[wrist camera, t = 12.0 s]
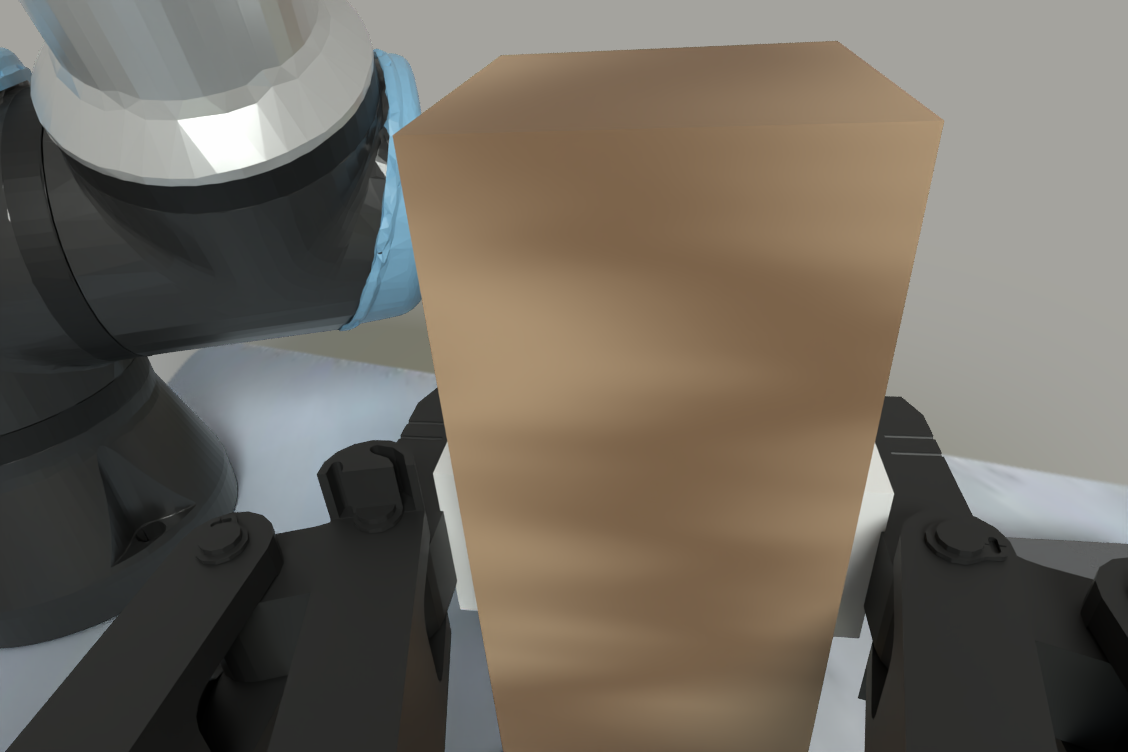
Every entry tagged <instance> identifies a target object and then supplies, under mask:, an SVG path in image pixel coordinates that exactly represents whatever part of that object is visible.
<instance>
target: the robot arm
mask: <svg viewBox="0 0 1128 752" xmlns="http://www.w3.org/2000/svg"><path fill="white" fill-rule="evenodd" d="M19 1H20V3H21V4H22V6H23V8H24V9H25V11H26V12H27V14H28V15H29V17H30V18H31V20H32V21H33V23H34V24H35V26H36V28H37V29H38V31H39V32H40V34H41V35H42V37H43V38H44V40H45V42H44V44H43V45H42V47H41V49H40V52H39V54H38V56H37V58H36V61H35V63H34V67H33V71H32V73H31V71H30V69H29V68H27V67H25V66H24V65H23V64H22V62H21V61H20V60H19V59H18V57H17V56H16V55H15V54H14V53H12V52H11V51H9V50H8V49H5V48H0V648H12V647H20V646H26V645H31V644H37V643H41V642H45V641H50V640H53V639H57V638H60V637H64V636H67V635H70V634H73V633H76V632H79V631H81V630H84V629H87V628H89V627H92V626H94V625H97V624H99V623H101V622H104V621H106V620H108V619H110V618H112V617H115V616H117V615H118V617H117V618H116V619H115V620H114V621H113V623H112V624H111V625H110V626H109V627H108V629H107V630H106V631H105V632H104V633H103V635H102V636H101V637H100V638H99V639H98V641H97V642H96V643H95V644H94V645H93V647H92V648H91V649H90V650H89V651H88V653H87V654H86V655H85V656H84V657H83V659H82V660H81V661H80V662H79V664H78V665H77V666H76V667H75V668H74V670H73V671H72V672H71V673H70V674H69V676H68V677H67V678H66V679H65V680H64V682H63V683H62V684H61V685H60V686H59V688H58V689H57V690H56V691H55V692H54V694H53V695H52V696H51V697H50V698H49V700H48V701H47V702H46V703H45V704H44V706H43V707H42V708H41V709H40V710H39V712H38V713H37V714H36V715H35V716H34V718H33V719H32V720H31V721H30V722H29V724H28V725H27V726H26V727H25V728H24V730H23V731H22V732H21V733H20V734H19V736H18V737H17V738H16V739H15V740H14V742H13V743H12V744H11V745H10V746H9V748H8V749H7V750H6V751H5V752H444V751H445V733H446V716H447V699H448V681H449V664H450V647H451V628H450V623H449V618H448V613H447V610H448V607H449V604H450V601H451V598H452V596H453V593H454V590H455V587H456V591H457V596H458V601H459V606H460V609H461V610H475V611H478V609H477V603H476V598H475V592H474V586H473V581H472V575H471V570H470V564H469V559H468V553H467V547H466V542H465V536H464V531H463V525H462V520H461V514H460V509H459V503H458V497H457V492H456V486H455V481H454V475H453V470H452V464H451V458H450V453H449V447H448V442H447V436H446V431H445V425H444V420H443V414H442V408H441V403H440V397H439V392H438V387H437V388H436V389H435V390H434V391H432V392H431V393H430V394H429V395H427V396H426V397H425V398H424V399H422V400H421V401H420V402H419V403H418V404H417V406H416V408H415V410H414V412H413V414H412V415H411V417H410V419H409V424H407V425H406V426H405V428H404V430H403V432H402V434H401V439H398V441H397V443H396V442H393V441H382V440H372V441H367V442H363V443H358V444H354V445H352V446H349V447H347V448H345V449H343V450H341V451H338V452H337V453H335V454H334V455H333V456H332V457H330V458H329V459H328V460H327V461H325V462H324V464H323V465H322V467H321V468H320V470H319V472H318V473H317V477H318V480H319V483H320V486H321V490H322V493H323V496H324V499H325V502H326V506H327V509H328V512H329V515H330V518H331V521H330V523H327V524H323V525H320V526H316V527H311V528H306V529H301V530H295V531H290V532H285V533H279V534H275V531H274V529H273V526H272V523H271V522H270V521H269V520H267V519H266V518H265V517H264V516H263V515H260V514H256V513H252V512H237V513H232V512H233V510H234V507H235V504H236V499H237V490H238V489H237V481H236V477H235V474H234V472H233V469H232V467H231V464H230V462H229V459H228V457H227V454H226V452H225V449H224V447H223V445H222V444H221V442H220V441H219V439H218V438H217V437H216V435H215V434H214V433H213V432H212V431H211V430H210V429H209V428H208V427H207V426H206V425H205V424H204V423H203V422H202V421H201V420H200V419H199V418H198V417H197V416H196V415H195V413H194V412H193V411H192V410H191V409H190V408H189V407H188V406H187V405H186V404H185V403H184V402H183V401H182V400H181V399H180V398H179V397H178V396H177V395H176V394H175V393H174V392H173V391H172V390H171V389H170V388H169V387H168V386H167V385H166V383H165V382H164V381H163V380H162V379H161V378H160V377H159V376H158V375H157V374H156V373H155V372H154V370H153V368H152V366H151V364H150V362H149V359H148V357H147V356H152V355H156V354H163V353H169V352H176V351H183V350H191V349H199V348H206V347H213V346H221V345H228V344H235V343H243V342H250V341H257V340H265V339H272V338H280V337H287V336H294V335H301V334H309V333H316V332H324V331H331V330H340V331H346V330H351V329H353V328H355V327H356V326H358V325H359V324H361V323H366V322H371V321H376V320H381V319H386V318H390V317H396V316H400V315H403V314H405V313H407V312H409V311H410V310H412V309H413V308H414V307H415V306H416V305H417V304H418V303H419V302H420V301H421V299H422V297H421V292H420V286H419V280H418V275H417V269H416V264H415V258H414V253H413V247H412V242H411V236H410V230H409V225H408V219H407V214H406V208H405V203H404V197H403V191H402V186H401V180H400V175H399V169H398V164H397V158H396V153H395V147H394V141H393V136H392V135H394V134H395V133H396V132H398V131H399V130H400V129H402V128H403V127H405V126H406V125H407V124H409V123H410V122H411V121H413V120H414V119H415V118H417V117H418V116H419V115H421V109H420V102H419V97H418V92H417V87H416V83H415V78H414V74H413V72H412V69H411V66H410V64H409V63H408V61H407V60H406V59H405V58H403V57H402V56H400V55H397V54H392V53H389V54H387V53H386V52H384V51H382V50H379V49H374V50H373V48H372V43H371V39H370V36H369V33H368V31H367V29H366V27H365V24H364V22H363V20H362V19H361V17H360V16H359V14H358V12H357V11H356V9H355V8H354V7H353V6H352V5H351V4H350V3H349V2H348V1H347V0H19ZM865 613H866V617H867V621H868V625H869V628H870V632H871V636H872V640H873V642H872V646H871V650H870V654H869V657H868V661H867V665H866V669H865V673H864V677H863V681H862V684H861V688H860V692H859V696H858V698H859V699H863V700H866V717H865V752H1128V557H1127V558H1117V559H1112V560H1110V561H1109V562H1107V563H1105V564H1104V565H1102V566H1100V567H1099V569H1098V571H1097V573H1096V575H1095V577H1094V579H1090V578H1086V577H1083V576H1079V575H1075V574H1072V573H1068V572H1064V571H1060V570H1057V569H1053V568H1049V567H1046V566H1042V565H1039V564H1037V563H1034V562H1031V561H1028V560H1025V559H1023V558H1021V557H1019V556H1017V554H1016V552H1015V550H1014V548H1013V546H1012V544H1011V542H1010V541H1009V540H1008V539H1007V538H1006V537H1005V536H1004V535H1003V534H1001V533H1000V532H999V531H998V530H997V529H996V528H995V527H993V526H991V525H989V524H988V523H986V522H984V521H982V520H980V519H978V518H977V517H974V516H973V515H972V513H971V511H970V509H969V507H968V505H967V503H966V501H965V499H964V497H963V495H962V493H961V491H960V489H959V487H958V485H957V483H956V481H955V479H954V477H953V475H952V473H951V471H950V469H949V467H948V464H947V462H946V460H945V458H944V457H942V456H941V450H940V448H939V446H938V444H937V442H936V440H933V435H932V432H931V430H930V428H929V426H928V424H927V422H926V420H925V418H924V416H923V415H922V414H921V413H920V412H919V411H918V410H916V409H915V408H914V407H913V406H912V405H910V404H909V403H908V402H907V401H906V400H904V399H903V398H902V397H886V396H885V398H884V402H883V407H882V412H881V416H880V421H879V426H878V430H877V435H876V440H875V444H874V449H873V453H872V458H871V463H870V467H869V472H868V477H867V481H866V486H865V491H864V495H863V500H862V504H861V509H860V514H859V518H858V523H857V528H856V532H855V537H854V542H853V546H852V551H851V556H850V560H849V565H848V569H847V574H846V579H845V583H844V588H843V593H842V597H841V602H840V607H839V611H838V616H837V620H836V625H835V630H834V634H833V636H834V637H848V638H859V637H860V633H861V628H862V624H863V620H864V616H865Z"/></svg>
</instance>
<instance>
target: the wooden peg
mask: <svg viewBox="0 0 1128 752" xmlns="http://www.w3.org/2000/svg"><path fill="white" fill-rule="evenodd" d="M943 124H944V120H943V119H941V118H940V117H939V116H937V115H936V114H935V113H933V112H932V111H931V110H929V109H928V108H927V107H925V106H924V105H923V104H921V103H920V102H919V101H917V100H916V99H915V98H913V97H912V96H911V95H909V94H908V93H906V92H905V91H904V90H902V89H901V88H900V87H898V86H897V85H896V84H894V83H893V82H892V81H890V80H889V79H888V78H886V77H885V76H884V75H882V74H881V73H880V72H878V71H877V70H876V69H874V68H873V67H872V66H870V65H869V64H868V63H866V62H865V61H863V60H862V59H861V58H859V57H858V56H857V55H856V54H854V53H853V52H852V51H850V50H849V49H848V48H846V47H845V46H843V45H842V44H841V43H840V42H838V41H825V42H803V43H778V44H754V45H732V46H708V47H684V48H662V49H638V50H614V51H592V52H569V53H547V54H521V55H501V56H499V57H498V58H497V59H495V60H494V61H493V62H491V63H490V64H489V65H487V66H486V67H485V68H483V69H482V70H481V71H479V72H478V73H476V74H475V75H474V76H472V77H471V78H470V79H468V80H467V81H465V82H464V83H463V84H462V85H460V86H459V87H457V88H456V89H455V90H454V91H452V92H451V93H449V94H448V95H447V96H445V97H444V98H442V99H441V100H440V101H438V102H437V103H436V104H434V105H433V106H432V107H431V108H429V109H428V110H426V111H425V112H423V113H422V114H421V115H419V116H418V117H417V118H415V119H414V120H413V121H411V122H410V123H409V124H407V125H406V126H405V127H403V128H402V129H400V130H399V131H398V132H396V133H395V134H394V135H392V136H393V141H394V147H395V153H396V158H397V164H398V169H399V175H400V180H401V186H402V191H403V197H404V203H405V208H406V214H407V219H408V225H409V230H410V236H411V242H412V247H413V253H414V258H415V264H416V269H417V275H418V280H419V286H420V292H421V297H422V303H423V308H424V313H425V319H426V325H427V330H428V336H429V341H430V347H431V353H432V358H433V364H434V369H435V375H436V381H437V386H438V392H439V397H440V403H441V408H442V414H443V420H444V425H445V431H446V436H447V442H448V447H449V453H450V458H451V464H452V470H453V475H454V481H455V486H456V492H457V497H458V503H459V509H460V514H461V520H462V525H463V531H464V536H465V542H466V547H467V553H468V559H469V564H470V570H471V575H472V581H473V586H474V592H475V598H476V603H477V609H478V614H479V620H480V625H481V631H482V636H483V642H484V648H485V653H486V659H487V664H488V670H489V675H490V681H491V687H492V692H493V698H494V703H495V709H496V714H497V720H498V726H499V731H500V737H501V742H502V748H503V752H808V750H809V746H810V741H811V736H812V732H813V727H814V723H815V718H816V713H817V709H818V704H819V699H820V695H821V690H822V685H823V681H824V676H825V671H826V667H827V662H828V658H829V653H830V648H831V644H832V639H833V634H834V630H835V625H836V620H837V616H838V611H839V607H840V602H841V597H842V593H843V588H844V583H845V579H846V574H847V569H848V565H849V560H850V556H851V551H852V546H853V542H854V537H855V532H856V528H857V523H858V518H859V514H860V509H861V504H862V500H863V495H864V491H865V486H866V481H867V477H868V472H869V467H870V463H871V458H872V453H873V449H874V444H875V440H876V435H877V430H878V426H879V421H880V416H881V412H882V407H883V402H884V398H885V393H886V389H887V384H888V379H889V374H890V370H891V365H892V360H893V356H894V351H895V347H896V342H897V337H898V333H899V328H900V323H901V319H902V314H903V309H904V304H905V300H906V296H907V291H908V286H909V282H910V277H911V272H912V268H913V263H914V258H915V254H916V249H917V245H918V240H919V235H920V231H921V226H922V222H923V217H924V212H925V208H926V203H927V198H928V194H929V189H930V184H931V179H932V175H933V171H934V166H935V161H936V157H937V152H938V147H939V142H940V138H941V133H942V129H943Z"/></svg>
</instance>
